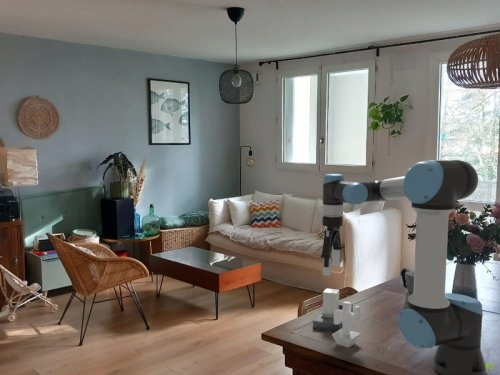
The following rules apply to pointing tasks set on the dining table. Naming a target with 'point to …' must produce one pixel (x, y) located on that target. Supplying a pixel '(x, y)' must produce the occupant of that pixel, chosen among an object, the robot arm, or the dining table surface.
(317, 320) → the dark grey flat block
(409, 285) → the coffeepot
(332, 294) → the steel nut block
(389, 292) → the dining table surface
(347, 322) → the figurine
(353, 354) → the dining table surface
